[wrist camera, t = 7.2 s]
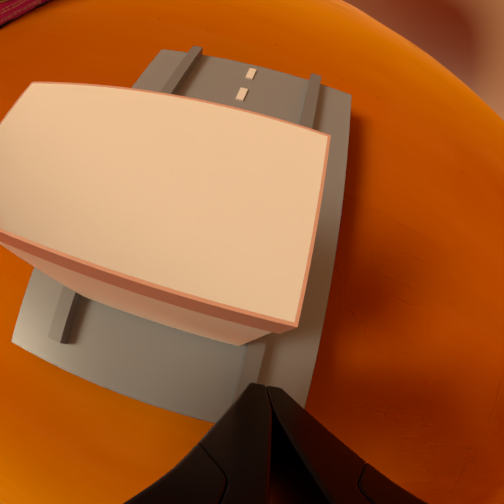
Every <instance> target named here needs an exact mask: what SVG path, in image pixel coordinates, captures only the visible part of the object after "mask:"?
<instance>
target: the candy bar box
mask: <svg viewBox="0 0 504 504" xmlns="http://www.w3.org/2000/svg"><path fill="white" fill-rule="evenodd" d="M49 1H51V0H0V27H2V26H3V25H5V24H7V23H9V22H10V21H12V20H14V19H15V18H17V17H19V16H21V15H23V14H25V13H27V12H29V11H30V10H33V9H35V8H37V7H39V6H41V5H43V4H45V3H47V2H49Z"/></svg>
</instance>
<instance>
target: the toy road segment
mask: <svg viewBox="0 0 504 504" xmlns="http://www.w3.org/2000/svg"><path fill="white" fill-rule="evenodd" d="M320 82H321V76H319V75H316V74H313V73H311V76H310V79H309V80H306V79H303V78H300V77H296V76H293V75H289V74H286V73H282V72H279V71H275V70H271V69H267V68H263V67H259V66H255V65H251V64H246V63H242V62H237V61H233V60H228V59H223V58H217V57H212V56H206V55H202V47H197V46H193V47H192V48H191V49H190V51H189V52H188V53H187V52H180V51H172V50H163V49H162V50H161V51H160V52H159V54H158V55H157V56H156V57H155V58H154V60H153V61H152V62H151V63H150V65H149V66H148V67H147V68H146V70H145V71H144V72H143V73H142V75H141V76H140V77H139V79H138V80H137V81H136V83H135V84H134V85H133V87H132V88H133V89H141V90H148V91H155V92H161V93H167V94H173V95H179V96H184V97H190V98H195V99H200V100H205V101H210V102H214V103H219V104H223V105H228V106H232V107H236V108H240V109H244V110H248V111H252V112H256V113H260V114H263V115H267V116H271V117H274V118H278V119H281V120H285V121H288V122H291V123H295V124H298V125H301V126H304V127H307V128H311V129H314V130H317V131H320V132H323V133H326V134H329V135H331V138H330V146H329V153H328V161H327V168H326V175H325V181H324V188H323V194H322V201H321V207H320V213H319V219H318V225H317V231H316V237H315V242H314V248H313V253H312V259H311V264H310V269H309V274H308V280H307V285H306V290H305V295H304V299H303V304H302V309H301V314H300V318H299V323H298V327H297V328H295V329H292V330H289V331H287V332H284V333H281V334H277V333H273V332H272V333H269V334H267V335H264V336H262V337H260V338H257V339H255V340H252V341H250V342H247V343H245V344H243V345H240V346H235V345H231V344H228V343H224V342H220V341H217V340H213V339H209V338H206V337H202V336H199V335H195V334H192V333H189V332H185V331H182V330H179V329H175V328H172V327H169V326H166V325H163V324H160V323H156V322H153V321H150V320H147V319H144V318H141V317H138V316H135V315H132V314H130V313H127V312H124V311H121V310H118V309H115V308H113V307H110V306H107V305H104V304H102V303H99V302H96V301H94V300H91V299H88V298H86V297H84V296H82V295H80V294H78V293H77V292H75V291H73V290H71V289H70V288H68V287H66V286H65V285H63V284H61V283H60V282H58V281H56V280H55V279H53V278H51V277H50V276H48V275H46V274H45V273H43V272H42V271H40V270H39V269H37V268H35V267H34V270H33V272H32V275H31V278H30V281H29V284H28V287H27V290H26V293H25V296H24V299H23V302H22V305H21V308H20V312H19V315H18V319H17V322H16V326H15V330H14V333H13V337H12V341H11V342H13V343H15V344H16V345H18V346H20V347H22V348H23V349H25V350H27V351H29V352H31V353H32V354H34V355H36V356H38V357H40V358H42V359H44V360H46V361H48V362H50V363H52V364H54V365H56V366H58V367H60V368H62V369H64V370H66V371H68V372H70V373H72V374H75V375H77V376H79V377H81V378H83V379H86V380H88V381H90V382H93V383H95V384H97V385H100V386H102V387H105V388H107V389H110V390H112V391H115V392H117V393H120V394H122V395H125V396H128V397H131V398H133V399H136V400H139V401H142V402H145V403H148V404H150V405H153V406H157V407H160V408H163V409H166V410H169V411H172V412H176V413H179V414H183V415H186V416H190V417H193V418H197V419H201V420H204V421H208V422H212V423H216V422H217V421H218V420H219V419H220V418H221V417H222V415H223V414H224V413H225V412H226V411H227V409H228V408H229V407H230V406H231V405H232V404H233V402H234V401H235V400H236V399H237V397H238V396H239V395H240V394H241V393H242V391H243V390H244V389H245V388H246V386H247V385H248V384H249V383H251V382H252V383H257V384H263V385H265V387H266V386H274V387H279V388H282V389H283V390H284V391H285V392H286V393H287V394H288V395H290V396H291V397H292V398H293V399H294V400H295V401H296V402H297V403H298V404H299V405H300V406H301V407H303V408H305V404H306V400H307V396H308V392H309V388H310V384H311V380H312V375H313V371H314V367H315V362H316V358H317V353H318V348H319V344H320V339H321V334H322V329H323V324H324V319H325V313H326V308H327V303H328V297H329V292H330V286H331V280H332V274H333V268H334V261H335V255H336V248H337V241H338V234H339V227H340V219H341V211H342V203H343V195H344V185H345V176H346V166H347V155H348V143H349V129H350V114H351V95H350V94H347V93H344V92H342V91H339V90H336V89H333V88H330V87H328V86H325V85H322V84H320Z"/></svg>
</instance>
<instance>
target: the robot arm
mask: <svg viewBox="0 0 504 504" xmlns="http://www.w3.org/2000/svg"><path fill="white" fill-rule="evenodd" d="M365 463H366V462H365V461H364V460H363V459H362V458H360V457H359V456H358V455H357V454H356V453H354V452H353V451H352V450H351V449H350V448H348V447H347V446H346V445H345V444H344V443H342V442H341V441H340V440H339V439H338V438H337V437H335V436H334V435H333V434H332V433H331V432H330V431H328V430H327V429H326V428H325V427H324V426H323V425H322V424H320V423H319V422H318V421H317V420H316V419H315V418H314V417H313V416H311V415H310V414H309V413H308V412H307V411H306V410H305V409H304V408H303V407H301V406H300V405H299V404H298V403H297V402H296V401H295V400H294V399H293V398H292V397H291V396H290V395H288V394H287V393H286V392H285V391H284V390H283V389H282V388H279V387H274V386H266V387H265V385H263V384H257V383H252V382H251V383H249V384H248V385H247V386H246V388H245V389H244V390H243V391H242V393H241V394H240V395H239V396H238V397H237V399H236V400H235V401H234V402H233V404H232V405H231V406H230V407H229V408H228V409H227V411H226V412H225V413H224V414H223V415H222V417H221V418H220V419H219V420H218V421H217V422H216V424H215V425H214V426H213V427H212V428H211V429H210V430H209V432H208V433H207V434H206V435H205V436H204V437H203V438H202V440H201V441H200V442H199V443H198V444H197V445H196V446H195V447H194V448H193V449H192V450H191V451H190V452H189V453H188V454H187V455H186V456H185V457H184V458H183V459H182V460H181V461H180V462H179V463H178V464H177V465H176V466H175V467H174V468H173V469H171V470H170V471H169V472H168V473H166V474H165V475H164V476H163V477H161V478H160V479H159V480H157V481H156V482H155V483H153V484H152V485H150V486H149V487H147V488H146V489H144V490H143V491H142V492H140V493H139V494H137V495H135V496H134V497H132V498H131V499H129V500H128V501H126V502H125V503H123V504H427V503H426V502H424V501H422V500H421V499H419V498H417V497H415V496H414V495H412V494H411V493H409V492H407V491H406V490H404V489H403V488H401V487H400V486H398V485H397V484H395V483H394V482H392V481H391V480H390V479H388V478H387V477H386V476H384V475H383V474H381V473H380V472H379V471H378V470H376V469H375V468H374V467H373V466H371V465H370V464H369V463H366V464H365Z"/></svg>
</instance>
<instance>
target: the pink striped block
mask: <svg viewBox="0 0 504 504" xmlns="http://www.w3.org/2000/svg"><path fill="white" fill-rule="evenodd" d="M330 138H331V135H329V134H326V133H323V132H320V131H317V130H314V129H311V128H307V127H304V126H301V125H298V124H295V123H291V122H288V121H285V120H281V119H278V118H274V117H271V116H267V115H263V114H260V113H256V112H252V111H248V110H244V109H240V108H236V107H232V106H228V105H223V104H219V103H214V102H210V101H205V100H200V99H195V98H190V97H184V96H179V95H173V94H167V93H161V92H155V91H148V90H141V89H133V88H125V87H116V86H107V85H96V84H82V83H64V82H32V83H31V84H30V85H29V86H28V87H27V89H26V90H25V91H24V92H23V93H22V95H21V96H20V97H19V98H18V100H17V101H16V102H15V104H14V105H13V106H12V108H11V109H10V110H9V112H8V113H7V114H6V116H5V117H4V118H3V120H2V121H1V123H0V244H1V245H2V246H4V247H5V248H7V249H8V250H10V251H11V252H13V253H14V254H16V255H17V256H19V257H20V258H22V259H23V260H25V261H26V262H28V263H29V264H31V265H32V266H34V267H35V268H37V269H39V270H40V271H42V272H43V273H45V274H46V275H48V276H50V277H51V278H53V279H55V280H56V281H58V282H60V283H61V284H63V285H65V286H66V287H68V288H70V289H71V290H73V291H75V292H77V293H78V294H80V295H82V296H84V297H86V298H88V299H91V300H94V301H96V302H99V303H102V304H104V305H107V306H110V307H113V308H115V309H118V310H121V311H124V312H127V313H130V314H132V315H135V316H138V317H141V318H144V319H147V320H150V321H153V322H156V323H160V324H163V325H166V326H169V327H172V328H175V329H179V330H182V331H185V332H189V333H192V334H195V335H199V336H202V337H206V338H209V339H213V340H217V341H220V342H224V343H228V344H231V345H235V346H240V345H243V344H245V343H247V342H250V341H252V340H255V339H257V338H260V337H262V336H264V335H267V334H269V333H272V332H273V333H277V334H281V333H284V332H287V331H289V330H292V329H295V328H297V327H298V323H299V318H300V314H301V309H302V304H303V299H304V295H305V290H306V285H307V280H308V274H309V269H310V264H311V259H312V253H313V248H314V242H315V237H316V231H317V225H318V219H319V213H320V207H321V201H322V194H323V188H324V181H325V175H326V168H327V161H328V153H329V146H330Z"/></svg>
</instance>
